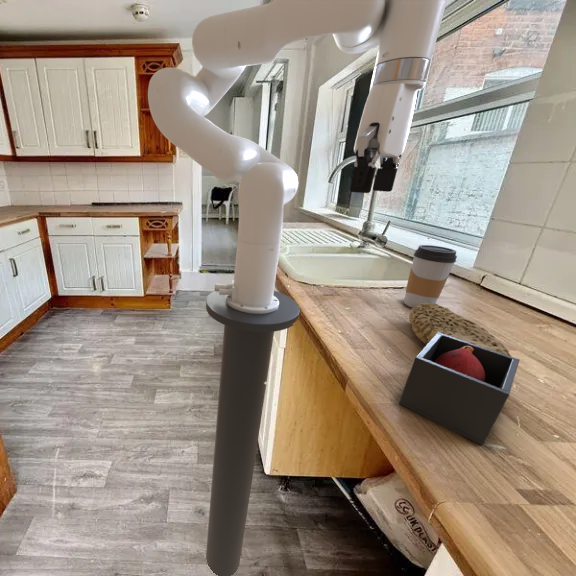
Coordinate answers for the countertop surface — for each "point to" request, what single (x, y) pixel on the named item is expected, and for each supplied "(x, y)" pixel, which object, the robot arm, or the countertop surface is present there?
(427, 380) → the waste bin
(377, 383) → the countertop surface
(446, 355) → the onion
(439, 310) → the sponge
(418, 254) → the coffee cup
